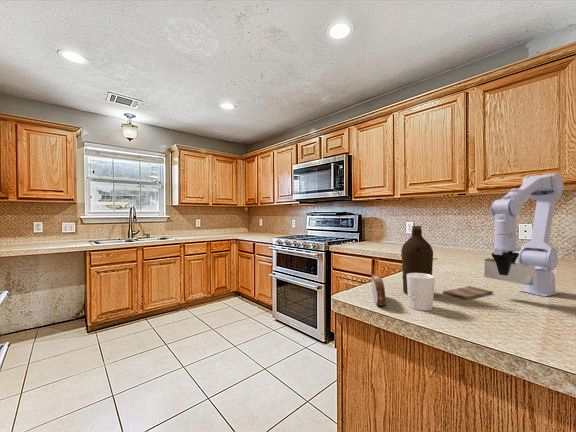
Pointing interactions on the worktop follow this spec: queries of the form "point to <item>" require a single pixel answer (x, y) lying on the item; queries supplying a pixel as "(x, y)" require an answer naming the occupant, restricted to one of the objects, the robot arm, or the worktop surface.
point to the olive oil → (416, 256)
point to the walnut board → (467, 292)
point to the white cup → (420, 291)
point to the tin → (378, 290)
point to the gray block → (511, 272)
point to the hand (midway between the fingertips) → (505, 274)
